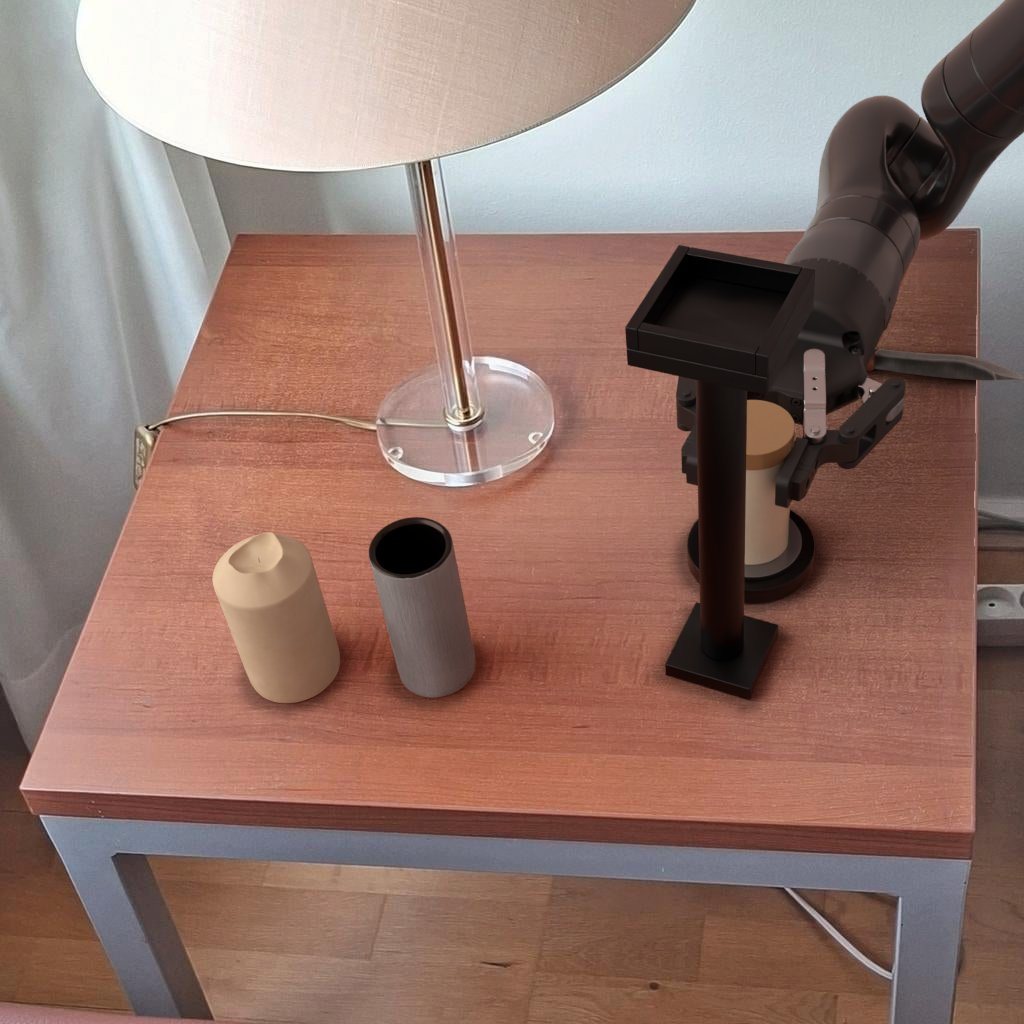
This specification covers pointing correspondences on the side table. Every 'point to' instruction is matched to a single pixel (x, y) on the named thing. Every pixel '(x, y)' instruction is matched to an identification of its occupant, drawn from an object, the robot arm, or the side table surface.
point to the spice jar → (766, 480)
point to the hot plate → (770, 564)
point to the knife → (940, 366)
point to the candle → (277, 617)
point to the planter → (423, 605)
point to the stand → (721, 430)
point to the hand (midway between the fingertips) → (737, 484)
